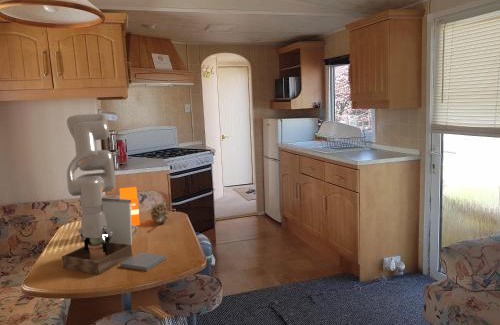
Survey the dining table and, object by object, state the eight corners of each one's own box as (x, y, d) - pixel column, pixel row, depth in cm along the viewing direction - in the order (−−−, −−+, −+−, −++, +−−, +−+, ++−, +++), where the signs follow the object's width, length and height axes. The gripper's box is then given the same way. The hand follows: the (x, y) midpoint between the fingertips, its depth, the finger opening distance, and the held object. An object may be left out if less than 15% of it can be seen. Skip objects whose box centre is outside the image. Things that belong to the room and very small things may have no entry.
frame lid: (131, 244, 173) (132, 243, 174) (129, 200, 171) (130, 199, 172) (96, 239, 181) (98, 239, 182) (94, 197, 179) (96, 197, 180)
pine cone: (150, 219, 226) (149, 202, 225) (168, 217, 229) (167, 200, 227) (151, 231, 205) (150, 212, 204) (171, 229, 208) (169, 210, 206)
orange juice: (122, 223, 223) (119, 187, 220) (139, 220, 225) (136, 185, 222) (122, 227, 215) (119, 190, 212) (140, 224, 218) (136, 188, 215)
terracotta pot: (86, 264, 167) (83, 235, 165) (98, 258, 173) (95, 230, 172) (98, 266, 165) (95, 237, 163) (110, 260, 171) (108, 232, 169)
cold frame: (63, 268, 164) (61, 256, 164) (97, 251, 181) (96, 240, 181) (99, 274, 157) (98, 262, 156) (132, 256, 174) (131, 245, 173)
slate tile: (120, 266, 163) (120, 263, 163) (140, 255, 174) (139, 252, 174) (147, 271, 158) (147, 267, 158) (165, 259, 169) (165, 255, 169)
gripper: (69, 210, 165) (74, 251, 168) (102, 213, 158) (107, 255, 161) (84, 206, 172) (88, 245, 175) (116, 208, 165) (120, 249, 168)
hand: (97, 250), depth 168 cm, fingers open, 9 cm apart
